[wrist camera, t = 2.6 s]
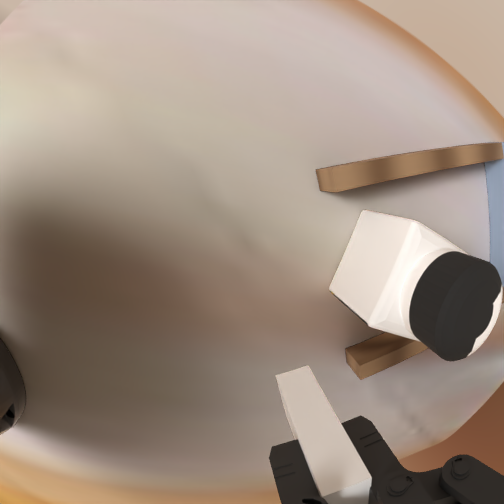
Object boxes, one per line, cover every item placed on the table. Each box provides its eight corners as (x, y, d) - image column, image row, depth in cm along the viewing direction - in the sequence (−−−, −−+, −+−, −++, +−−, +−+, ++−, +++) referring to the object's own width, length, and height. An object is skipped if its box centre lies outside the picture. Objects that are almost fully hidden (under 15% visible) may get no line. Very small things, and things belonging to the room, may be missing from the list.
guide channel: (346, 362, 26) (360, 379, 23) (315, 169, 22) (331, 168, 19) (488, 293, 28) (505, 301, 25) (481, 143, 24) (501, 142, 21)
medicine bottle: (326, 290, 24) (412, 369, 13) (361, 207, 23) (475, 233, 12) (389, 311, 26) (477, 379, 14) (420, 239, 25) (525, 276, 13)
